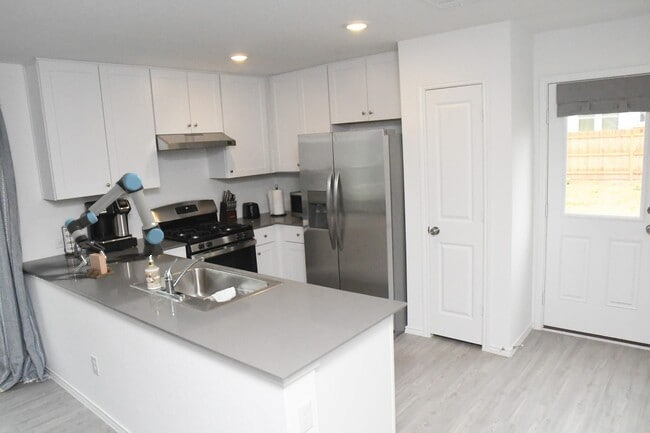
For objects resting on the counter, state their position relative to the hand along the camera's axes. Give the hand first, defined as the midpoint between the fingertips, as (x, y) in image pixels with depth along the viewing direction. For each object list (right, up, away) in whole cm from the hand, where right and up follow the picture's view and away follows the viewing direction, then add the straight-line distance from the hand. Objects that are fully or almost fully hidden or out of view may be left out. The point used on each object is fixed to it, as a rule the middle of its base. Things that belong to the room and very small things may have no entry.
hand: (95, 261), depth 303 cm
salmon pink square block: (+3, -7, 0) cm, 7 cm away
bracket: (-19, -7, +21) cm, 29 cm away
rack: (+3, -9, 0) cm, 9 cm away
